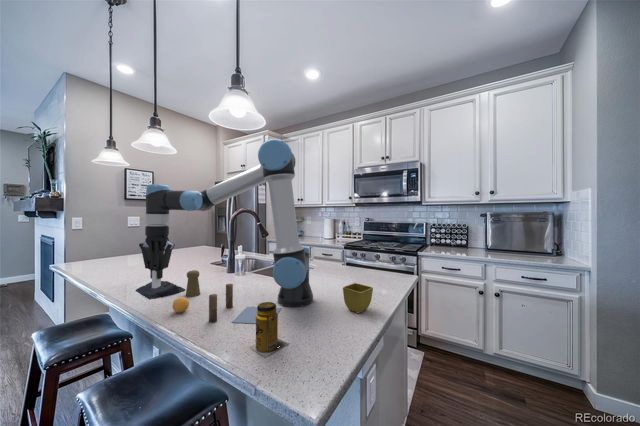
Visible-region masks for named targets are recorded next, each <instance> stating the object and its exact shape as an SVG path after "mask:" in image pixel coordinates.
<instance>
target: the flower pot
mask: <svg viewBox="0 0 640 426" xmlns="http://www.w3.org/2000/svg"><path fill="white" fill-rule="evenodd" d="M373 289H374V287H372V286H369V285H364V284H361V283H359V282H358V283H357V282H354V283H351V284H348V285H345V286H343V287H342V293H343V301H344V303H345V306H346V307H347V309H348V310H349V311H351V310H352V311H351V312H354V311H355V312H354V313H357V312H358V313H357V314H361V313H363V312H365V311H367V310H368V308H369V306H370V305H371V302H372V297H373V291H374V290H373ZM364 310H365V311H364ZM362 311H363V312H362ZM360 312H361V313H360Z"/></svg>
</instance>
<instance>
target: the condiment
mask: <svg viewBox="0 0 640 426" xmlns="http://www.w3.org/2000/svg"><path fill="white" fill-rule="evenodd" d="M256 307H257V315H256V324H255V344H253V345H251V346H249V348H250V349H252V350H253V351H255V352H256V353H258V354H260V355H261V356H263V357H265V358H267V357H268V356H270V355H272V354H274V353H275V352H277V351H279V350H280V349H282V348H285V347H286V346H287V345H289V344H290V343H289V342H286V341H284V340H283V339H280V338H278V329H279V327H278V322H279V321H278V320H279V319H278V318H279V317H278V316H279V314H278V315H277V313H276V308H277V304H276V302H275V303H274V302H272V301H265V302H261V303H259V304H258V305H257V306H256ZM279 346H280V347H279ZM277 347H279V348H277Z"/></svg>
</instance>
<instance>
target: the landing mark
mask: <svg viewBox="0 0 640 426" xmlns="http://www.w3.org/2000/svg"><path fill="white" fill-rule="evenodd" d="M281 310H282V307H276V313H277V315H278V316H279V313H280V312H281ZM256 315H257V306H245V308H244V309H243V310H242V311H241V312H240V313H239V314H238V315H237V316H236V317H235V318H234V319H233V320H232V321H231V323H232V324H247V325H248V324H251V325H253V324H254V325H256Z"/></svg>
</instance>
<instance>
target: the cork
mask: <svg viewBox="0 0 640 426" xmlns="http://www.w3.org/2000/svg"><path fill="white" fill-rule="evenodd" d="M199 277H200V271H199V270H196V269H193V270H189V271H188V272H186V278H187V284H186V289H185V298H193V297H194V298H195V297H197V296H200V295H201V289H200V281H199Z"/></svg>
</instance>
